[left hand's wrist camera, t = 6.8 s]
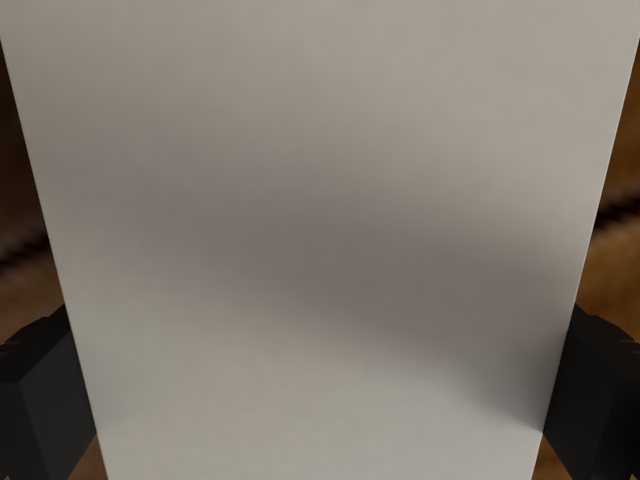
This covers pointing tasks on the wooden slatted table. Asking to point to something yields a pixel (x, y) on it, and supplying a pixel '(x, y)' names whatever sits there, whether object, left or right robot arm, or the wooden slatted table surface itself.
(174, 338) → the cabinet
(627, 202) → the wooden slatted table surface
